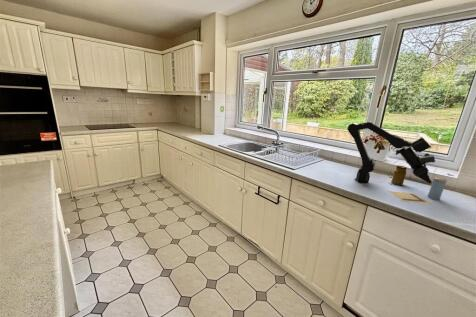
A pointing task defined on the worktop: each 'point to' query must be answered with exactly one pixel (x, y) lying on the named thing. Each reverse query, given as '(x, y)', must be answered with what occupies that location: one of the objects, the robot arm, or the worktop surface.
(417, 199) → the card
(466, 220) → the worktop surface
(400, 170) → the condiment
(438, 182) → the canister
